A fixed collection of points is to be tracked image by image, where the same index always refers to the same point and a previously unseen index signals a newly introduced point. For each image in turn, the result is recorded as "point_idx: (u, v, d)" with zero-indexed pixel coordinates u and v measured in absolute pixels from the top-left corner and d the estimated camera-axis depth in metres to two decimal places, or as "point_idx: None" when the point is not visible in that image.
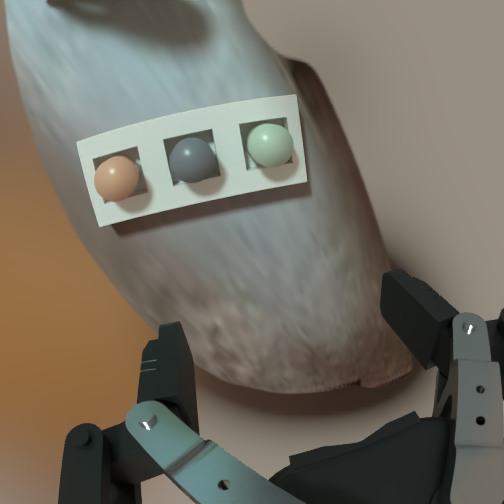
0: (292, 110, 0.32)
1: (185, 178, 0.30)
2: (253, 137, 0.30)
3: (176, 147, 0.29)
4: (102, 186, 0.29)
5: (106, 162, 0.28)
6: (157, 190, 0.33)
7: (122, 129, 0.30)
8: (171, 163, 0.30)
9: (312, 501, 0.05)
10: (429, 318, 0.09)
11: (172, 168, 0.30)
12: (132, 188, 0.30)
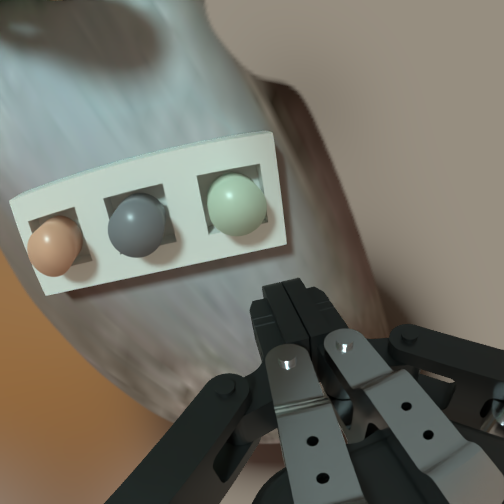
0: (267, 154, 0.25)
1: (129, 252, 0.24)
2: (212, 199, 0.23)
3: (114, 214, 0.22)
4: (37, 259, 0.22)
5: (37, 232, 0.22)
6: (102, 259, 0.26)
7: (56, 186, 0.23)
8: (110, 234, 0.23)
9: None
10: (306, 331, 0.10)
11: (112, 240, 0.23)
12: (69, 262, 0.23)
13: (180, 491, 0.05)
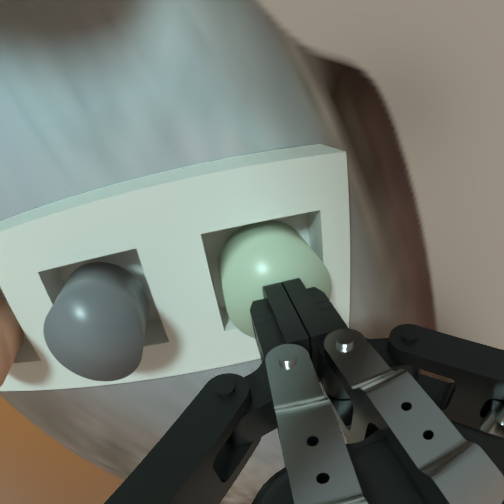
0: (335, 193, 0.13)
1: (87, 373, 0.12)
2: (233, 283, 0.12)
3: (50, 316, 0.11)
4: None
5: None
6: (55, 359, 0.15)
7: None
8: (50, 346, 0.11)
9: None
10: (306, 331, 0.10)
11: (56, 355, 0.11)
12: (2, 375, 0.11)
13: (180, 491, 0.05)
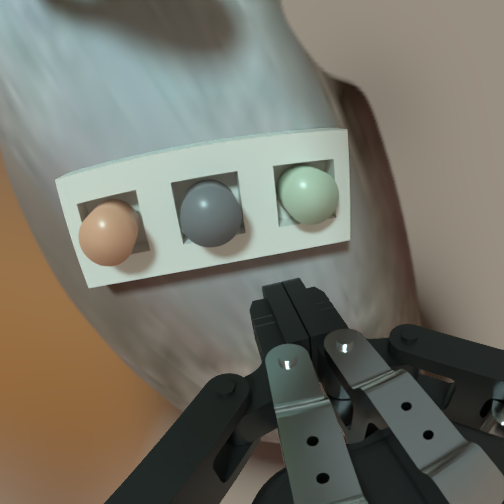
0: (341, 150, 0.25)
1: (201, 241, 0.23)
2: (291, 186, 0.24)
3: (190, 199, 0.22)
4: (90, 246, 0.22)
5: (94, 215, 0.21)
6: (162, 248, 0.26)
7: (116, 166, 0.22)
8: (182, 221, 0.22)
9: None
10: (306, 332, 0.10)
11: (184, 227, 0.23)
12: (130, 251, 0.23)
13: (180, 491, 0.05)
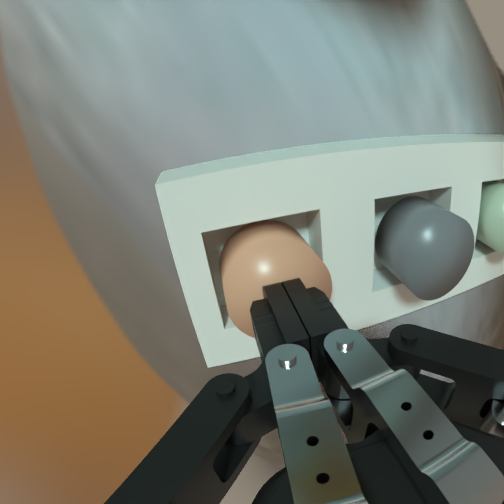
0: None
1: (425, 293, 0.14)
2: None
3: (429, 232, 0.12)
4: (248, 311, 0.13)
5: (267, 256, 0.12)
6: (342, 301, 0.16)
7: (289, 164, 0.13)
8: (413, 265, 0.13)
9: None
10: (306, 331, 0.10)
11: (411, 275, 0.13)
12: None
13: (180, 491, 0.05)
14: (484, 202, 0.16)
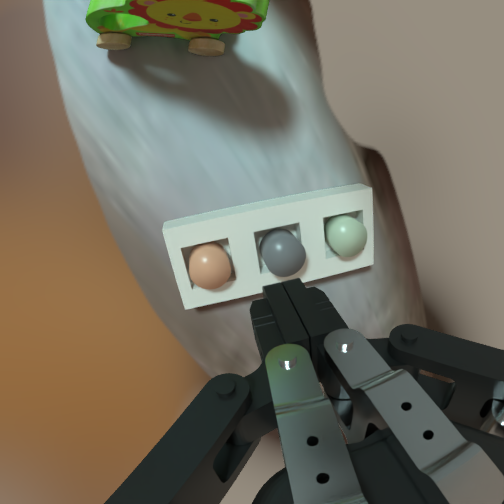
0: (368, 203, 0.36)
1: (278, 273, 0.34)
2: (336, 232, 0.35)
3: (272, 246, 0.33)
4: (197, 276, 0.34)
5: (202, 254, 0.33)
6: (245, 278, 0.37)
7: (213, 220, 0.33)
8: (267, 260, 0.33)
9: None
10: (306, 331, 0.10)
11: (267, 264, 0.34)
12: (227, 278, 0.34)
13: (180, 491, 0.05)
14: (328, 227, 0.36)
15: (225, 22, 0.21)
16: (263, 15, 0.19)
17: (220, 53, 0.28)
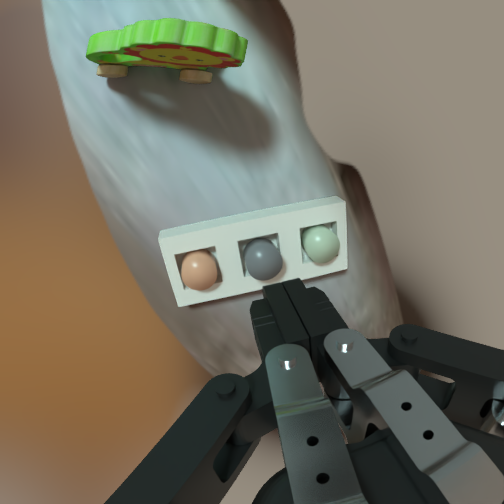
0: (341, 215, 0.41)
1: (258, 277, 0.39)
2: (311, 242, 0.40)
3: (253, 254, 0.38)
4: (188, 279, 0.39)
5: (192, 261, 0.38)
6: (230, 280, 0.42)
7: (202, 231, 0.38)
8: (248, 266, 0.39)
9: None
10: (306, 331, 0.10)
11: (249, 270, 0.39)
12: (214, 281, 0.40)
13: (180, 491, 0.05)
14: (305, 237, 0.41)
15: (209, 61, 0.26)
16: (241, 59, 0.24)
17: (208, 82, 0.32)
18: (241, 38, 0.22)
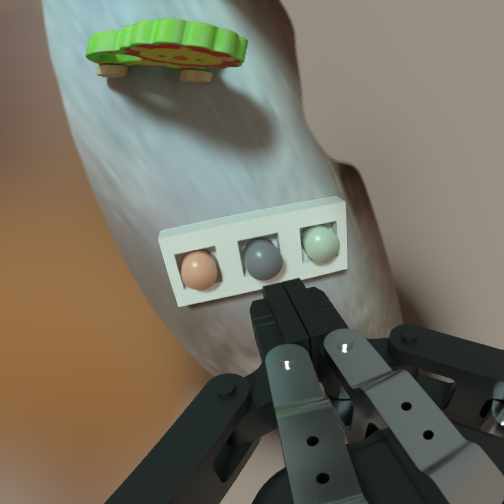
0: (341, 215, 0.41)
1: (258, 277, 0.39)
2: (310, 242, 0.40)
3: (253, 254, 0.38)
4: (188, 278, 0.39)
5: (192, 261, 0.38)
6: (230, 280, 0.42)
7: (202, 231, 0.38)
8: (248, 266, 0.39)
9: None
10: (306, 331, 0.10)
11: (249, 270, 0.39)
12: (214, 280, 0.40)
13: (180, 491, 0.05)
14: (305, 236, 0.42)
15: (209, 61, 0.26)
16: (241, 59, 0.24)
17: (208, 82, 0.32)
18: (241, 38, 0.22)
